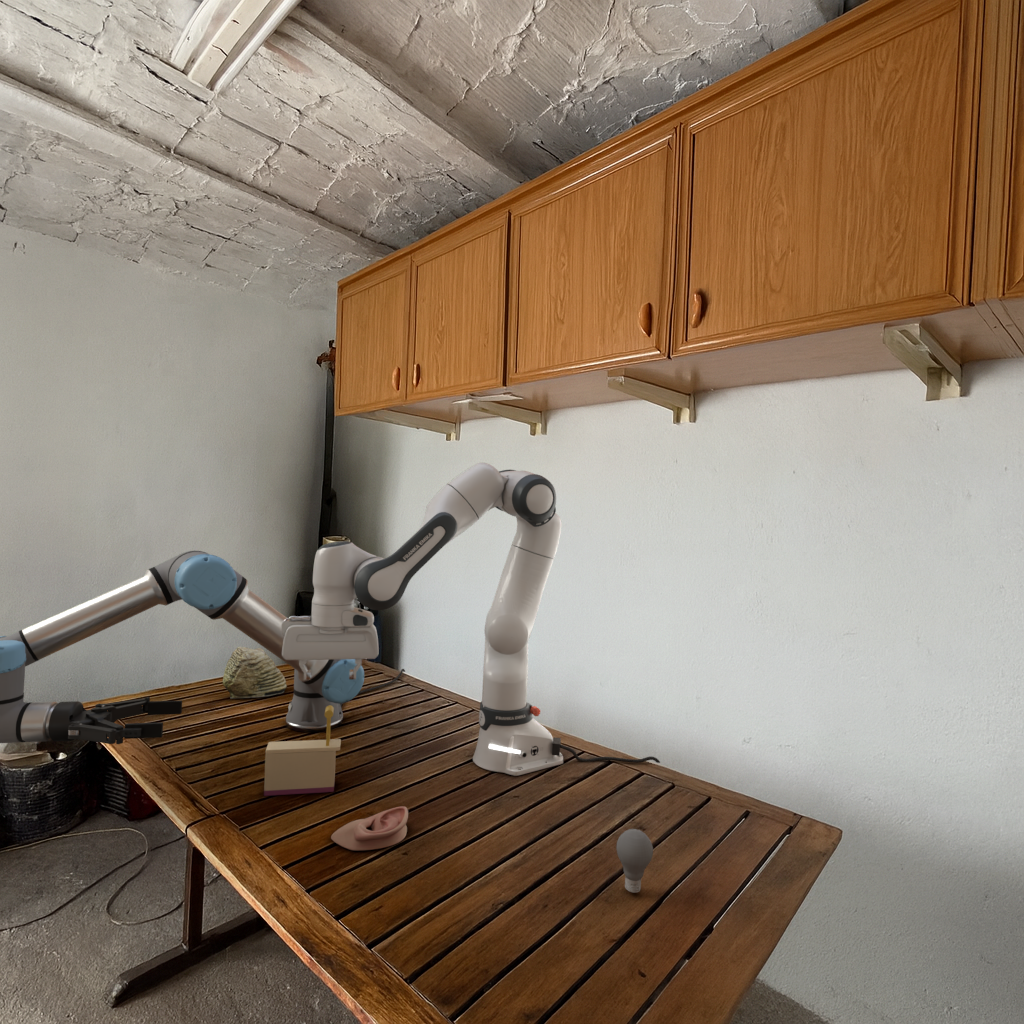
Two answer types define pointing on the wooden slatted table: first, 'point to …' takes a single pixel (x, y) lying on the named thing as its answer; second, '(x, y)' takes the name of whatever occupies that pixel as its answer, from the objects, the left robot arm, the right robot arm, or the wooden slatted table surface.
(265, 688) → the fossil
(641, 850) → the light bulb
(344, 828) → the anatomical model
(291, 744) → the lid
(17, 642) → the left robot arm
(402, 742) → the wooden slatted table surface
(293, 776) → the purple-based tan box
